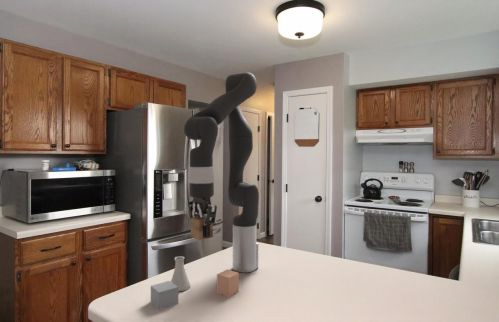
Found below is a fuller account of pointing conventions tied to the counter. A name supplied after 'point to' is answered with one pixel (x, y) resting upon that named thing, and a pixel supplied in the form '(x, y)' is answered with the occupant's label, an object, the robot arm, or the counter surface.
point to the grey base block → (164, 294)
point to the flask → (180, 275)
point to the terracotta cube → (227, 283)
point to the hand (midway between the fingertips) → (201, 235)
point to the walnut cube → (199, 228)
